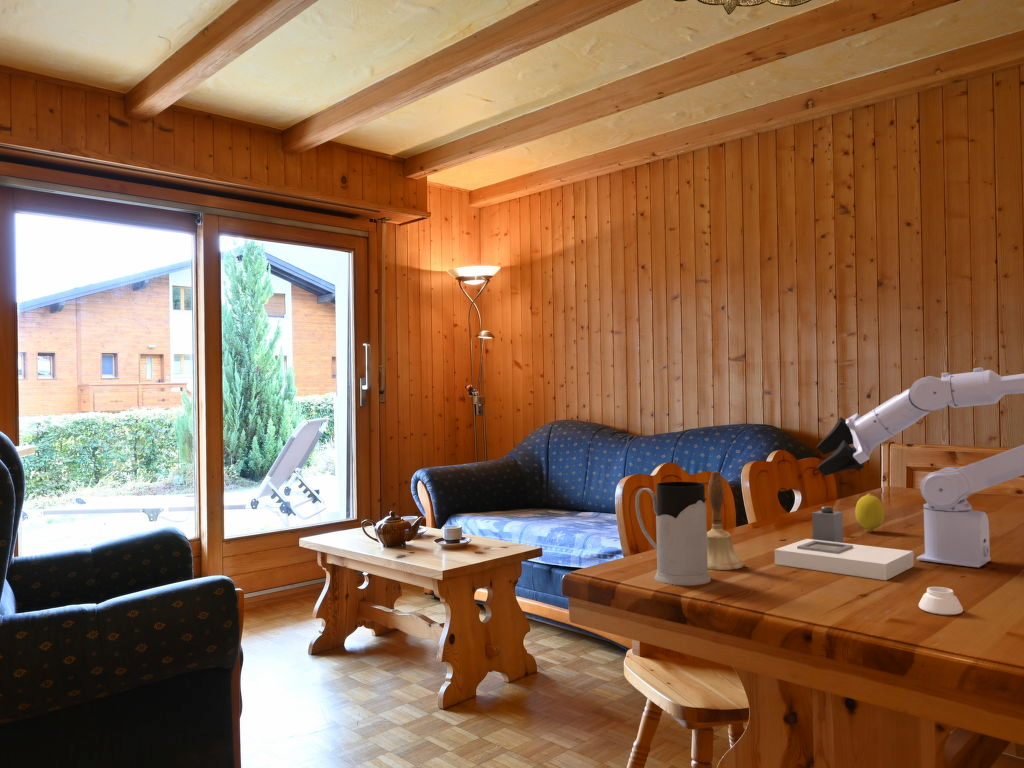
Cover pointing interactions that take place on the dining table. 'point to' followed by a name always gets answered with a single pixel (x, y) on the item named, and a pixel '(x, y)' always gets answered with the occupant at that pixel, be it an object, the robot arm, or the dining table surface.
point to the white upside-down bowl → (940, 601)
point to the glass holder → (679, 532)
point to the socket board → (845, 558)
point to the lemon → (869, 512)
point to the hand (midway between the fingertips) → (820, 460)
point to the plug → (827, 525)
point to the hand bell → (719, 532)
